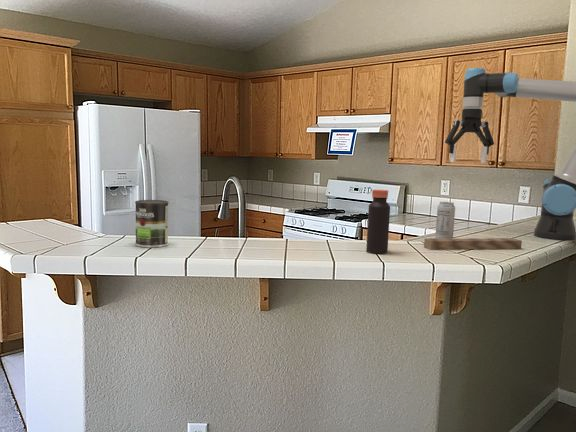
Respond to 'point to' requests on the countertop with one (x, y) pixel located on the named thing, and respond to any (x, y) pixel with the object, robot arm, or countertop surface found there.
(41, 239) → the countertop surface
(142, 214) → the coffee can
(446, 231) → the energy drink can
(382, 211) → the bottle
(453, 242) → the walnut board
